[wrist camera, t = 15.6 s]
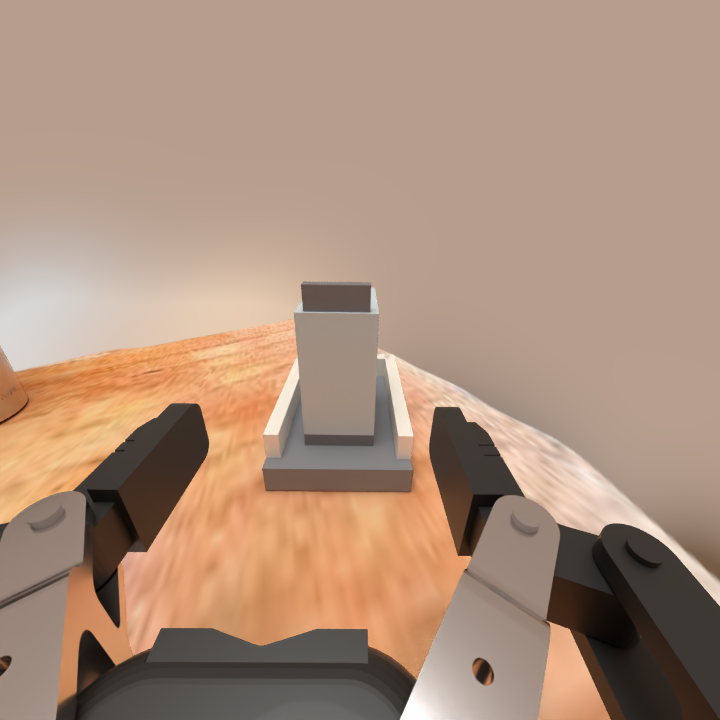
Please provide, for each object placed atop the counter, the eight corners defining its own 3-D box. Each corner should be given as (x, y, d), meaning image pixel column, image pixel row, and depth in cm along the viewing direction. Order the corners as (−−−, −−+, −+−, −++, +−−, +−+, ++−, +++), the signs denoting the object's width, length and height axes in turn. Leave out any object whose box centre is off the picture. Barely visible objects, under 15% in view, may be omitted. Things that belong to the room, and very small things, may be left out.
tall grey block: (304, 445, 22) (291, 285, 17) (317, 394, 29) (310, 265, 24) (373, 446, 22) (380, 286, 17) (370, 394, 29) (375, 266, 23)
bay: (266, 457, 21) (262, 434, 20) (299, 370, 33) (298, 353, 32) (410, 459, 21) (413, 436, 20) (392, 371, 33) (393, 354, 32)
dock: (265, 490, 21) (262, 468, 20) (301, 386, 34) (299, 370, 33) (410, 491, 21) (413, 470, 20) (391, 387, 34) (392, 371, 33)
